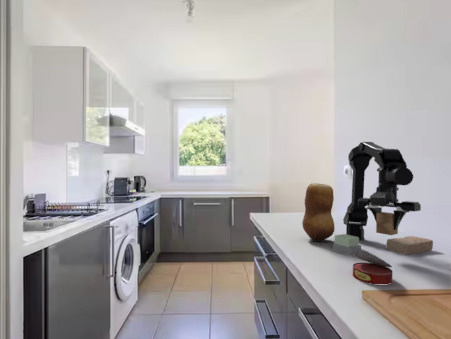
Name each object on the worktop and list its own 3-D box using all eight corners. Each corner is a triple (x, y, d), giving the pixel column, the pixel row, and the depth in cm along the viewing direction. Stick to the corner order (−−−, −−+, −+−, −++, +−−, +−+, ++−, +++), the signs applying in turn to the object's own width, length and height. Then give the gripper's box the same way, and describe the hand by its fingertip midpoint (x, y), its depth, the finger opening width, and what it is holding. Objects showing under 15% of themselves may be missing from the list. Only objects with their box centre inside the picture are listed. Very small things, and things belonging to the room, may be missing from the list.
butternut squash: (338, 244, 116) (339, 184, 116) (306, 243, 116) (307, 183, 117) (327, 237, 130) (328, 183, 130) (298, 236, 130) (299, 182, 130)
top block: (334, 243, 107) (334, 235, 107) (344, 241, 110) (344, 234, 110) (348, 247, 102) (348, 238, 102) (358, 245, 105) (358, 237, 105)
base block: (333, 251, 107) (333, 243, 107) (343, 249, 111) (343, 241, 111) (350, 256, 101) (351, 247, 101) (360, 253, 105) (361, 245, 105)
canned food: (351, 290, 82) (343, 255, 86) (388, 288, 81) (378, 253, 85) (363, 285, 72) (353, 246, 77) (405, 283, 71) (392, 243, 76)
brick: (405, 255, 103) (406, 242, 103) (384, 249, 111) (385, 237, 111) (433, 252, 110) (434, 239, 110) (412, 246, 117) (412, 235, 117)
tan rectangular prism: (376, 232, 100) (376, 212, 100) (382, 231, 103) (383, 212, 103) (391, 235, 96) (391, 214, 96) (397, 233, 99) (398, 213, 99)
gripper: (350, 183, 102) (349, 226, 102) (407, 185, 87) (407, 236, 87) (365, 183, 109) (365, 223, 108) (421, 185, 94) (421, 232, 93)
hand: (387, 228), depth 99 cm, fingers closed on tan rectangular prism, 5 cm apart
